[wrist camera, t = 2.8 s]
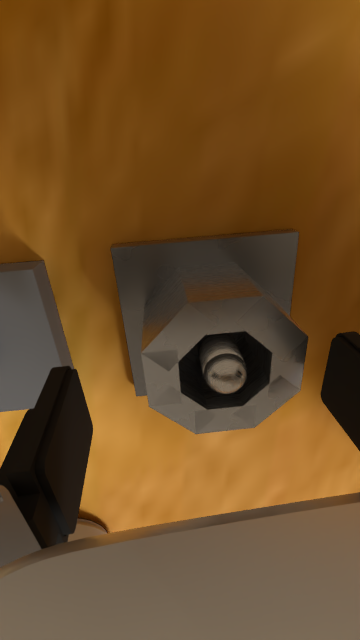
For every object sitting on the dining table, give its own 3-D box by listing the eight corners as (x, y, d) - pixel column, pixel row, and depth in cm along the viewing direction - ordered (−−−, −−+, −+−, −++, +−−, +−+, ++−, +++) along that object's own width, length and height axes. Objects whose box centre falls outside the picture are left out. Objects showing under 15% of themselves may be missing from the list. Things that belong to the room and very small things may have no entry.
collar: (272, 258, 15) (315, 290, 11) (264, 367, 18) (295, 423, 14) (139, 270, 15) (134, 307, 11) (153, 378, 18) (153, 438, 14)
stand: (291, 228, 15) (368, 262, 10) (277, 372, 19) (325, 452, 14) (113, 243, 15) (88, 287, 9) (137, 386, 19) (130, 474, 13)
